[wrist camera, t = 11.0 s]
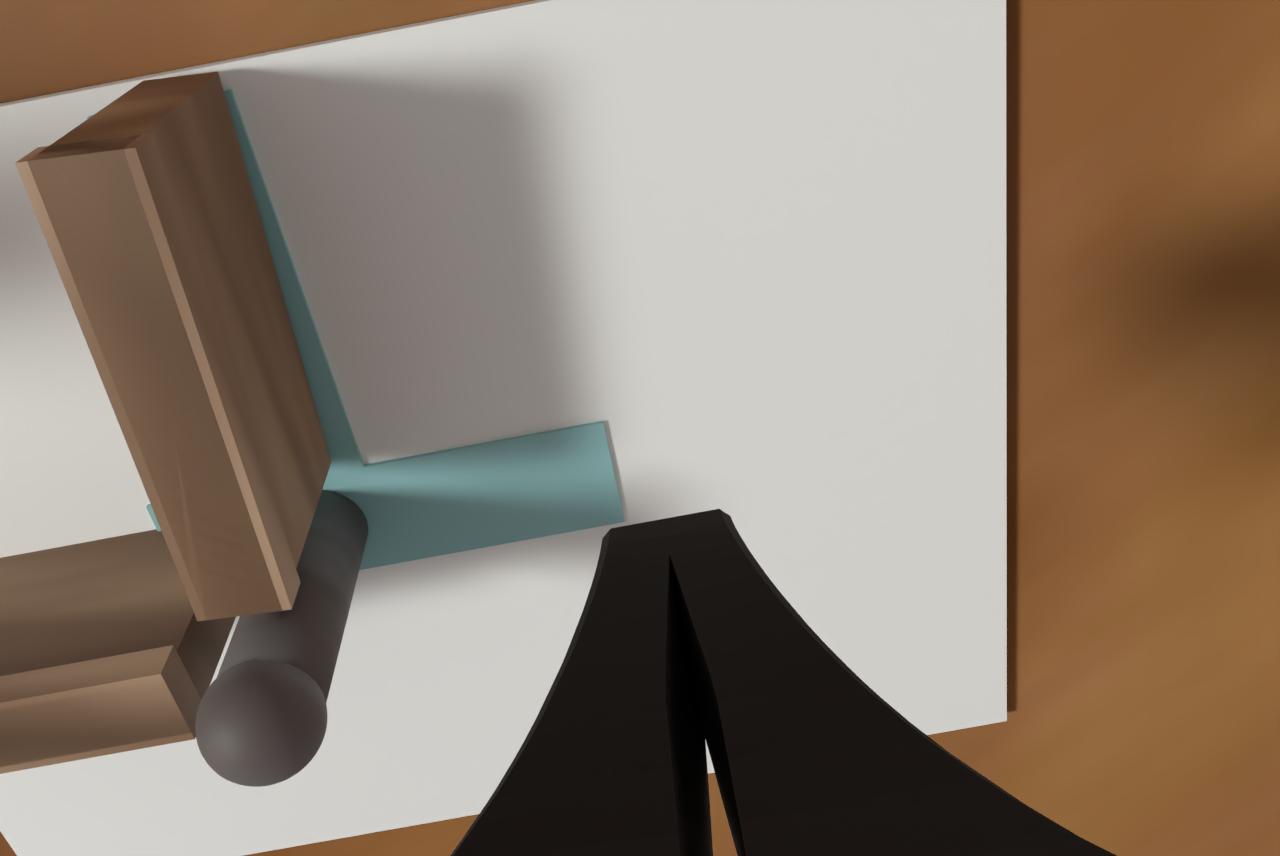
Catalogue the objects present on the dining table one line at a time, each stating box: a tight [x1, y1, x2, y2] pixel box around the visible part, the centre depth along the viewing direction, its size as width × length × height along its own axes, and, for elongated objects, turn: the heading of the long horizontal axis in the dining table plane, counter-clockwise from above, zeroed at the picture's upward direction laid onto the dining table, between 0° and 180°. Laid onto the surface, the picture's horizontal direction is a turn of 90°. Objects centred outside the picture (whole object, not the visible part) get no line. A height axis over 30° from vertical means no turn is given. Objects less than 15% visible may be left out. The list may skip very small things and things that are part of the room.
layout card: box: [0, 0, 1007, 856], centre depth 22 cm, size 18×24×1 cm
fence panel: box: [15, 71, 331, 622], centre depth 17 cm, size 2×7×4 cm, turn 6°
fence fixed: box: [0, 490, 368, 787], centre depth 20 cm, size 2×10×6 cm, turn 100°
